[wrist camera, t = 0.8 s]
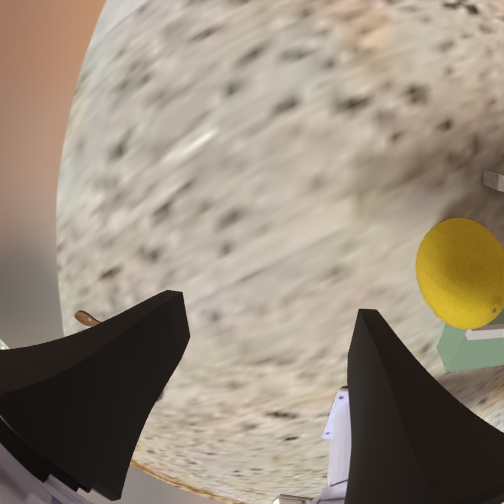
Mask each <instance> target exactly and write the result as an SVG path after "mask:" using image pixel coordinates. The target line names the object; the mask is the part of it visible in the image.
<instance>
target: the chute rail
mask: <svg viewBox="0 0 504 504" xmlns="http://www.w3.org/2000/svg"><path fill="white" fill-rule="evenodd" d="M482 184H483V185H486V186H488V187H490V188H493V189H495V190H498V191H502V192H504V175H502V174H499V173H495V172H491V171H487V170H484V171H483V181H482Z"/></svg>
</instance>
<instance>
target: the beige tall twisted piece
mask: <svg viewBox="0 0 504 504" xmlns="http://www.w3.org/2000/svg"><path fill="white" fill-rule="evenodd" d="M313 499H314V498H305V497H296V496H289V495H282V494H280V495H279V496H278V497H276V498H275V499H274V500H273V501H272V504H310V503H311V501H312V500H313Z"/></svg>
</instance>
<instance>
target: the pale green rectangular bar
mask: <svg viewBox="0 0 504 504" xmlns="http://www.w3.org/2000/svg"><path fill="white" fill-rule="evenodd" d="M437 349H438V351H439V354H440V356H441V359H442V361H443V364H444V367H445V369H446V372H452V371H462V370H471V369H478V368H486V367H492V366H498V365H504V307H503V309H502V311H501V312H500V313H499V314H498V316H497V317H496V318H495V319H493V320H492V321H491V322H489V323H488V324H486V325H484V326H482V327H479V328H476V329H468V330H465V329H460V328H455V327H453V326H451V325H449V324H448V323H447V325H446V327H445V330H444V332H443V334H442V337H441V339H440V341H439V344H438V346H437Z"/></svg>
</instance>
